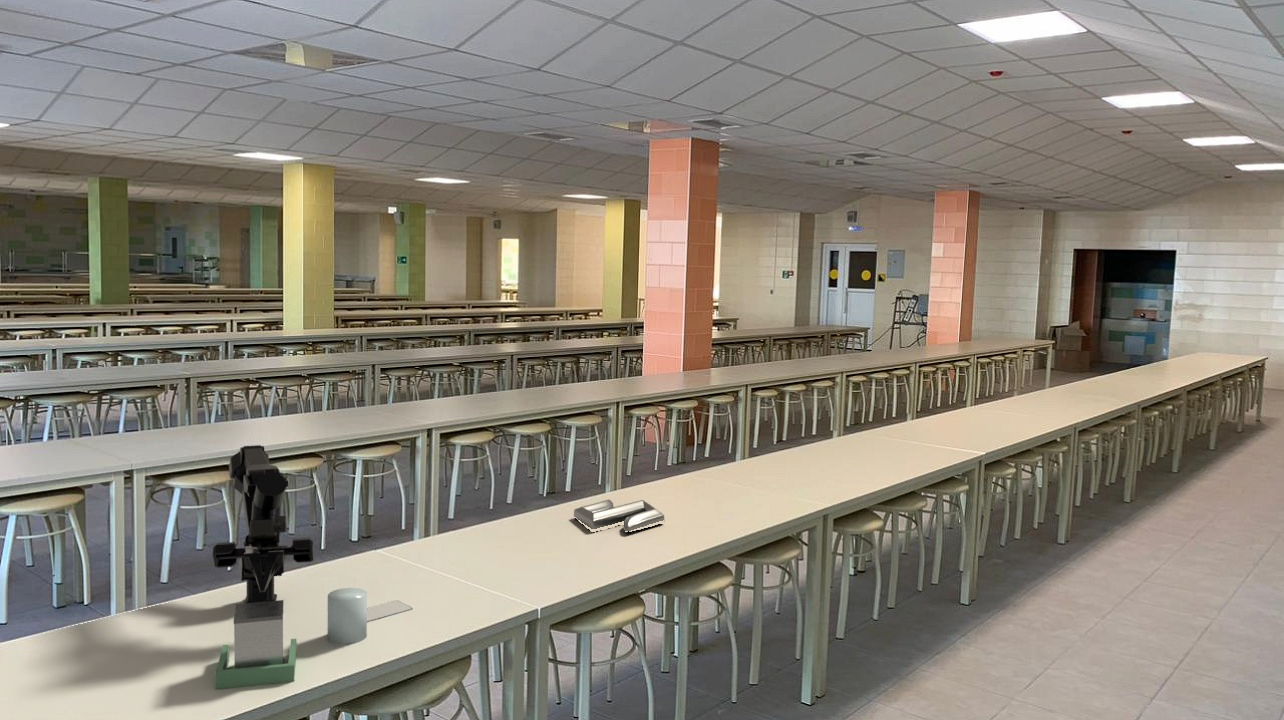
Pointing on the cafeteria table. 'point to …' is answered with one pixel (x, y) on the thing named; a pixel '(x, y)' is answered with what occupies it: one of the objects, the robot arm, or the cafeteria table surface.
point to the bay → (254, 671)
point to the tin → (258, 634)
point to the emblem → (618, 514)
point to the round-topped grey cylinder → (347, 615)
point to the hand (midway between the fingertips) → (262, 591)
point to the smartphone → (386, 610)
